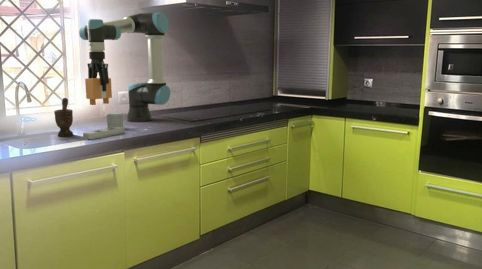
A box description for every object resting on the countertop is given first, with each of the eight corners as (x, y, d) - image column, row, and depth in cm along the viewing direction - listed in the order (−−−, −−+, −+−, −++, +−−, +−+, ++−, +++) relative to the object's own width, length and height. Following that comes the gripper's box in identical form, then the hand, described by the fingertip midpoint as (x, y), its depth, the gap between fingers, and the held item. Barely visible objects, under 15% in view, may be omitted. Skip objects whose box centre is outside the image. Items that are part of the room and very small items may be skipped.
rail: (118, 132, 236) (118, 126, 235) (125, 133, 233) (124, 127, 232) (83, 138, 218) (83, 132, 217) (90, 139, 215) (89, 133, 215)
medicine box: (123, 128, 248) (122, 112, 247) (121, 129, 244) (120, 114, 242) (109, 128, 248) (108, 112, 246) (107, 129, 244) (106, 114, 242)
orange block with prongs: (104, 102, 230) (103, 77, 228) (112, 103, 227) (110, 78, 225) (86, 104, 222) (85, 78, 219) (94, 105, 218) (92, 79, 216)
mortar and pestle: (81, 135, 225) (78, 97, 222) (65, 138, 219) (62, 98, 215) (68, 133, 232) (65, 95, 229) (53, 135, 226) (49, 97, 222)
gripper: (78, 51, 222) (81, 96, 226) (102, 51, 211) (105, 99, 215) (91, 51, 228) (94, 95, 232) (115, 51, 217) (117, 98, 221)
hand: (99, 97), depth 224 cm, fingers closed on orange block with prongs, 6 cm apart
